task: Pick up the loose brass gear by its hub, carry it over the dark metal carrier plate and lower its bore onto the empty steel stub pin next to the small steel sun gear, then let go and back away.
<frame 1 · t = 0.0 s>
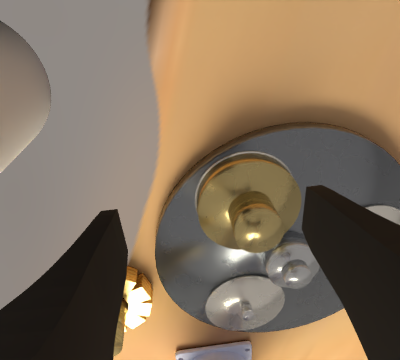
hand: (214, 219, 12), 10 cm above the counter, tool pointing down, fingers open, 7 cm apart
planet gear: (111, 292, 28), on the counter
carrier: (280, 241, 27), on the counter
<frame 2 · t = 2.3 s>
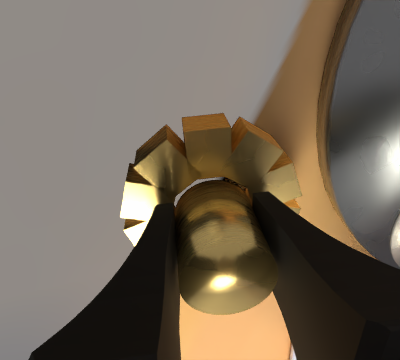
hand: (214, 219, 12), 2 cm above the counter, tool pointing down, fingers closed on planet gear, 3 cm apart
planet gear: (208, 192, 14), on the counter, touching gripper
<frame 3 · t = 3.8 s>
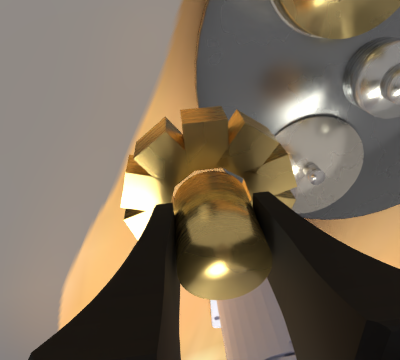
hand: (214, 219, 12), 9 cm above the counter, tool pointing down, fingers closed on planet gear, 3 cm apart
planet gear: (206, 183, 14), point 7 cm above the counter, touching gripper
carrier: (365, 70, 19), on the counter
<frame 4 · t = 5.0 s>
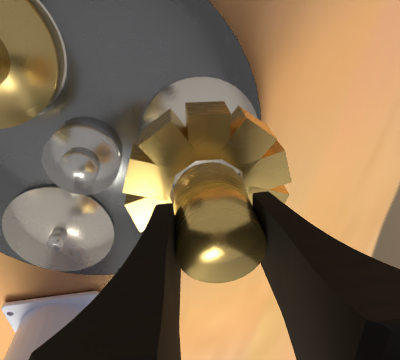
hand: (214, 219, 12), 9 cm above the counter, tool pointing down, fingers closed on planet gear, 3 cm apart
planet gear: (204, 175, 15), point 6 cm above the counter, touching gripper
carrier: (92, 141, 20), on the counter
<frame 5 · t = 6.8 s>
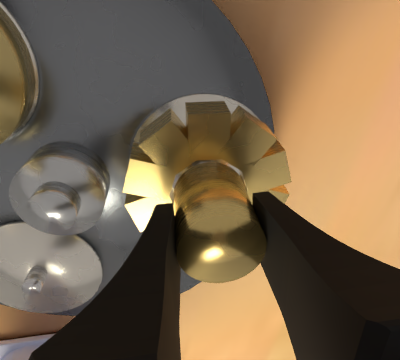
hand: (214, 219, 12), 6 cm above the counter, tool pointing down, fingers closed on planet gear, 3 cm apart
planet gear: (204, 175, 15), point 3 cm above the counter, touching gripper
carrier: (75, 167, 17), on the counter
when the fingers open (4 cm above the counter, at t = 7.7 s): planet gear stays where it is, resting on carrier.
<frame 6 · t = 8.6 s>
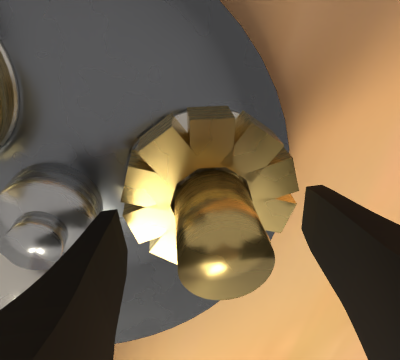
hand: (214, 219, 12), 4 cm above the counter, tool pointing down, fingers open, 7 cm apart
planet gear: (207, 183, 14), point 1 cm above the counter, touching carrier
carrier: (63, 189, 15), on the counter
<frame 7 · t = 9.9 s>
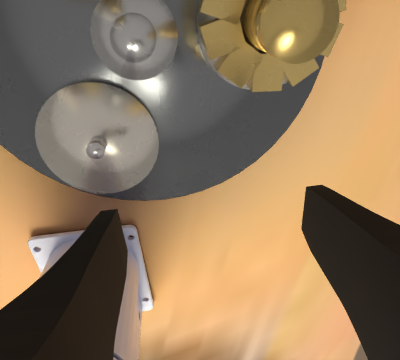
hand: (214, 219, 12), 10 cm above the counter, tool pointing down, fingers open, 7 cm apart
planet gear: (265, 16, 16), point 1 cm above the counter, touching carrier
carrier: (139, 30, 17), on the counter
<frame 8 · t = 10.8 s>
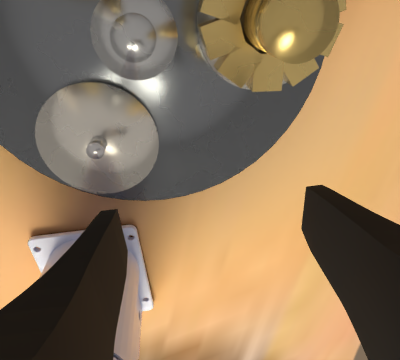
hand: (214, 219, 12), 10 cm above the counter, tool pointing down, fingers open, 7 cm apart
planet gear: (265, 16, 16), point 1 cm above the counter, touching carrier
carrier: (139, 30, 17), on the counter
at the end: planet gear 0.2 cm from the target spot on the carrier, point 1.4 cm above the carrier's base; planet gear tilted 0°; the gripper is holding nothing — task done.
